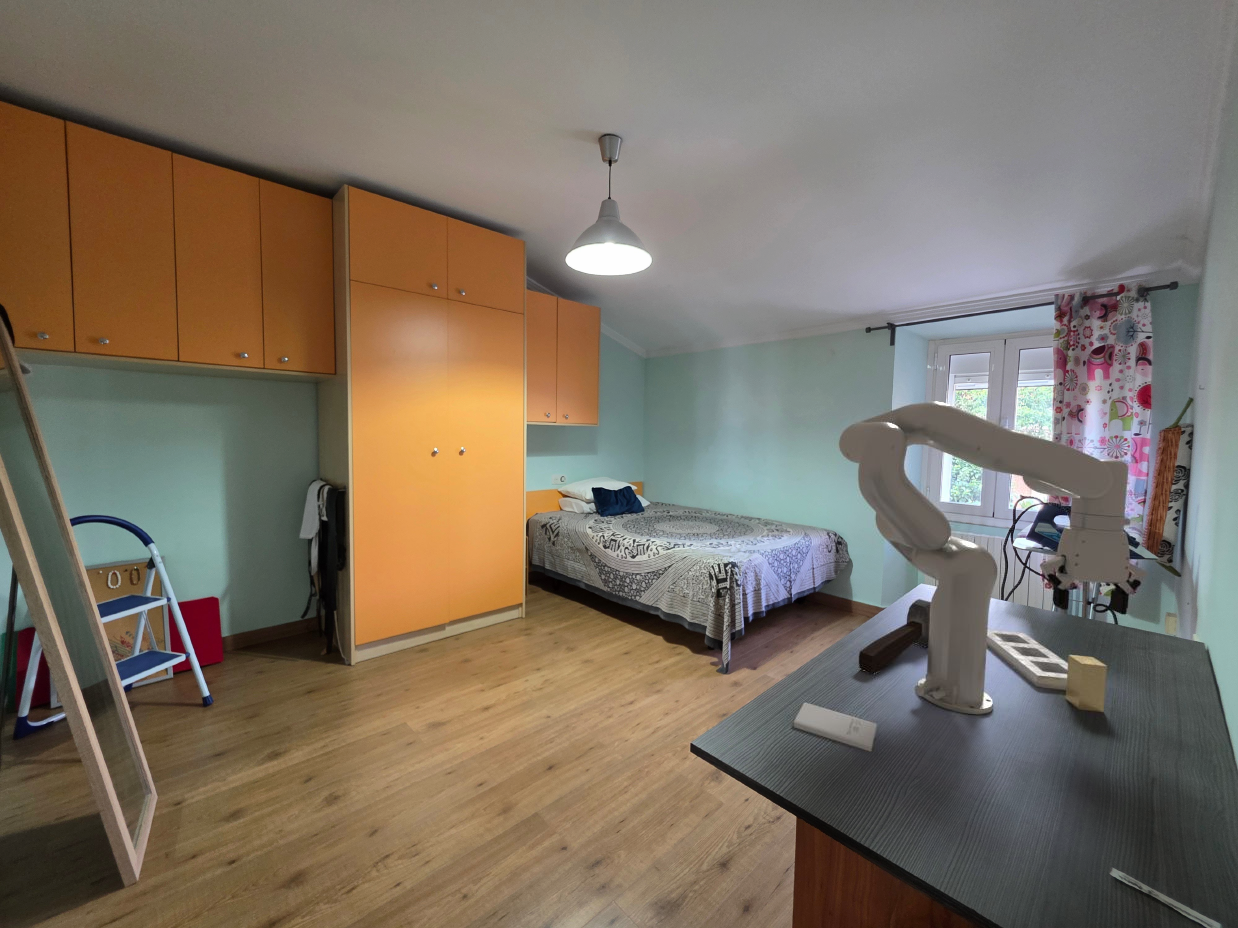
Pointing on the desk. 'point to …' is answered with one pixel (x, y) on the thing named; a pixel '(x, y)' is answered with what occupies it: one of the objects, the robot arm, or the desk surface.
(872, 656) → the hammer
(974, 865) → the desk surface
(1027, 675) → the white flat frame
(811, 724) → the external hard drive
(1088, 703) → the brass peg
